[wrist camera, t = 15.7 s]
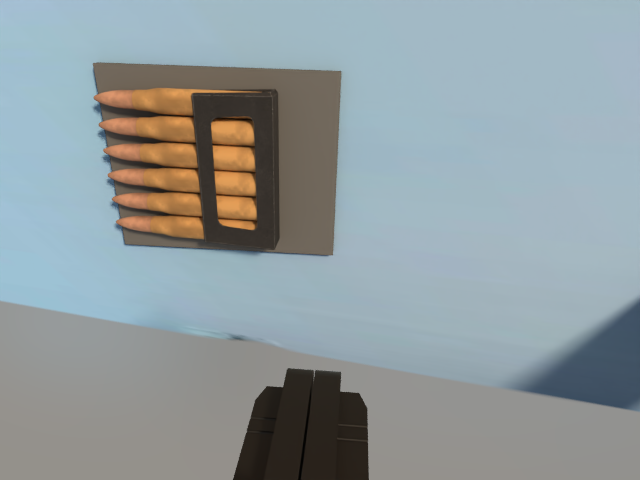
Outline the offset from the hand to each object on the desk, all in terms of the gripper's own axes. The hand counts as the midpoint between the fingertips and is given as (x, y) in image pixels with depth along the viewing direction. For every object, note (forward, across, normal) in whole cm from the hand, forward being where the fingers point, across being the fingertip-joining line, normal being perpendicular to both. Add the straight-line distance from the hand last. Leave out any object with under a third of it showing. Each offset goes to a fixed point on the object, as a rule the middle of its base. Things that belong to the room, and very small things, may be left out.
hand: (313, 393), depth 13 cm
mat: (+21, +8, 0) cm, 23 cm away
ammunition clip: (+19, +4, 0) cm, 20 cm away
